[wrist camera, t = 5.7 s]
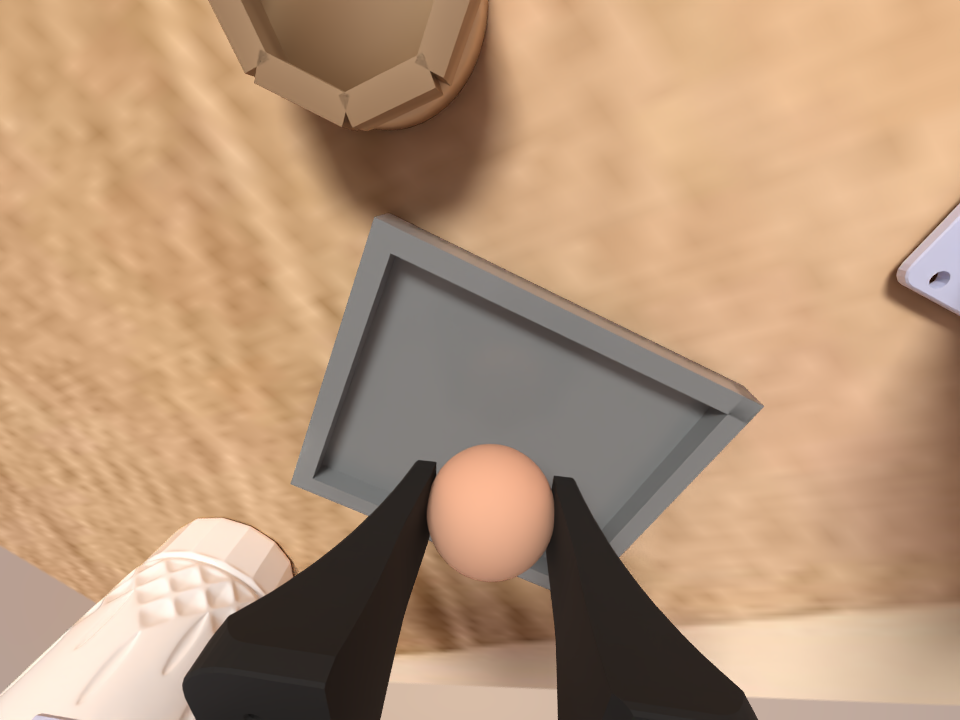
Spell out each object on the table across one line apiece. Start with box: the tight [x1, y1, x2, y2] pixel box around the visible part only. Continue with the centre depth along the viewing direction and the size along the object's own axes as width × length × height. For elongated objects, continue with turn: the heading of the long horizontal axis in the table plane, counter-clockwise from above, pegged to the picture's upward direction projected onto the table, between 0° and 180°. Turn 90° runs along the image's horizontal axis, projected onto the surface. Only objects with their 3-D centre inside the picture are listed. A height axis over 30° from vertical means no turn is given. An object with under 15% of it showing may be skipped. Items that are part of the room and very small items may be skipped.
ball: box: [427, 444, 554, 582], centre depth 12 cm, size 4×4×4 cm
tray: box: [291, 213, 764, 590], centre depth 16 cm, size 14×12×1 cm
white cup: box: [0, 518, 293, 720], centre depth 18 cm, size 8×8×10 cm
